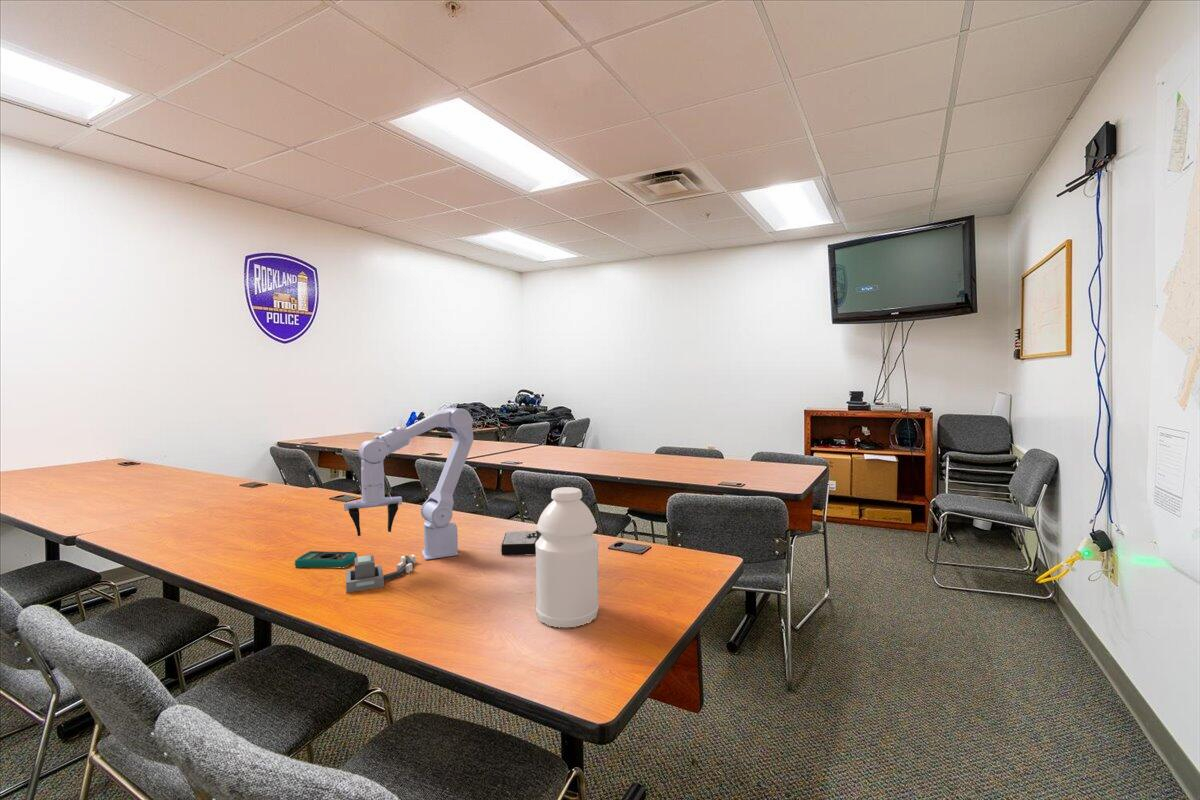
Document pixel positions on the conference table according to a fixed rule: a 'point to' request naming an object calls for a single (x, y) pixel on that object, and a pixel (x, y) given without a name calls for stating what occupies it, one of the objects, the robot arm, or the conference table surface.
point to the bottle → (566, 561)
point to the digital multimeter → (325, 559)
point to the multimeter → (520, 542)
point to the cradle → (364, 580)
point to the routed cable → (402, 567)
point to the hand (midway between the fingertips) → (374, 533)
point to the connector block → (364, 567)
